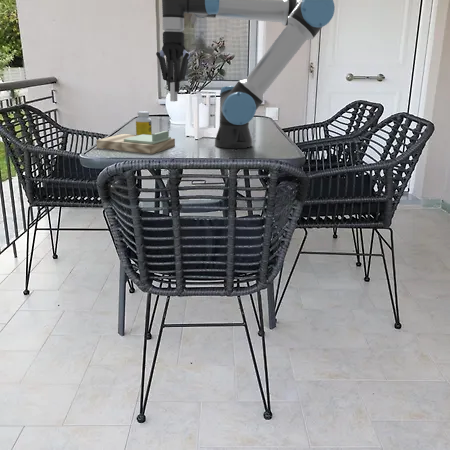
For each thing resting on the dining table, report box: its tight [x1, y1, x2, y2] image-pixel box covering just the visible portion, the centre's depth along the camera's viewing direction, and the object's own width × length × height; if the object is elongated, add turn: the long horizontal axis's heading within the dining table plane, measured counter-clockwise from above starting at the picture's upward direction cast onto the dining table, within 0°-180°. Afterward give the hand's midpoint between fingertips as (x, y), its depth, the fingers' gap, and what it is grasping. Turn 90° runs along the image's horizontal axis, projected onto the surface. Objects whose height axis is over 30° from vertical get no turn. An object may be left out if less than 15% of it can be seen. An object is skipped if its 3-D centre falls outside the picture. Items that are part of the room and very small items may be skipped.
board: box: [95, 133, 176, 155], centre depth 185 cm, size 24×18×3 cm
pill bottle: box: [135, 110, 153, 135], centre depth 199 cm, size 6×6×12 cm
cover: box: [124, 130, 172, 144], centre depth 182 cm, size 13×14×3 cm
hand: (173, 101), depth 174 cm, fingers closed
